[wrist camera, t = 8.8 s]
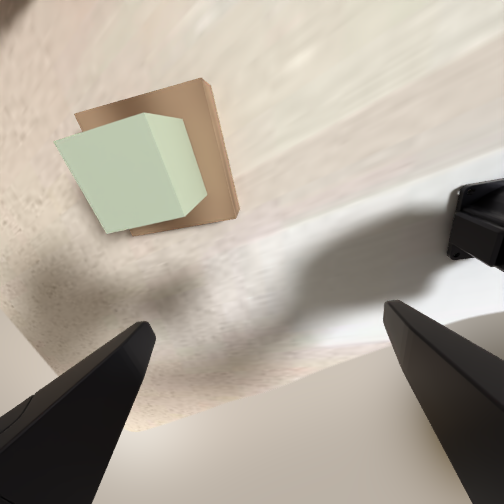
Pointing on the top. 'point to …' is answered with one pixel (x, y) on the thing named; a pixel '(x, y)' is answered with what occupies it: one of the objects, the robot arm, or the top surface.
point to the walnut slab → (201, 138)
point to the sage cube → (135, 170)
